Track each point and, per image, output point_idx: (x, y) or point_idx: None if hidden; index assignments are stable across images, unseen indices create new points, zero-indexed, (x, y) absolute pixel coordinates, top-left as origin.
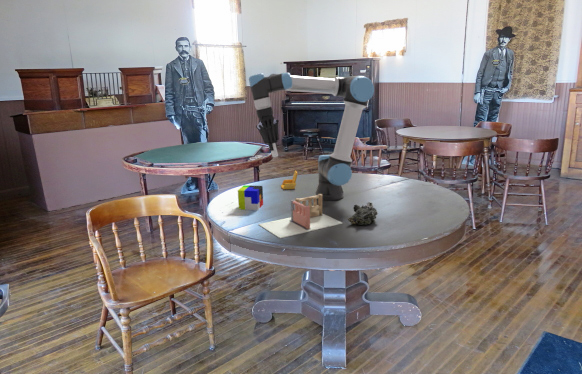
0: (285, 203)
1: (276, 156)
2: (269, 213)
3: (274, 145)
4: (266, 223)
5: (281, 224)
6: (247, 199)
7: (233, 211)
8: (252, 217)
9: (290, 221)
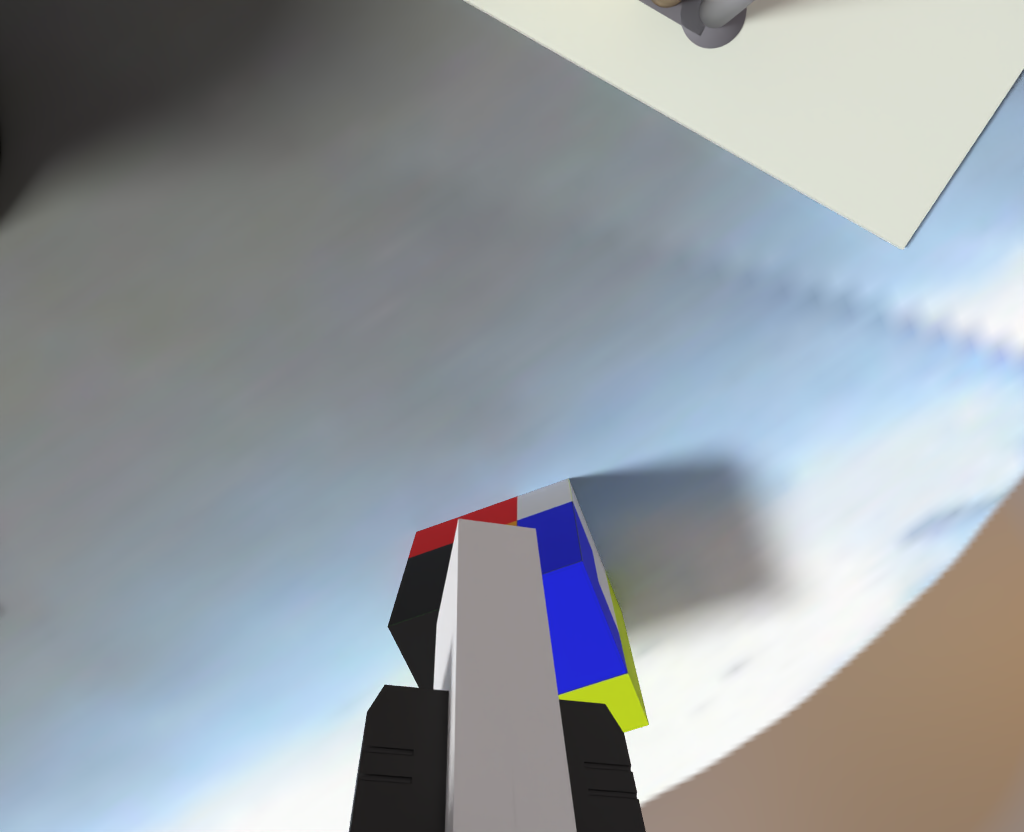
0: (296, 382)
1: (524, 534)
2: (601, 344)
3: (523, 801)
4: (867, 196)
5: (843, 54)
6: (607, 598)
7: (682, 617)
8: (750, 407)
9: (742, 21)
